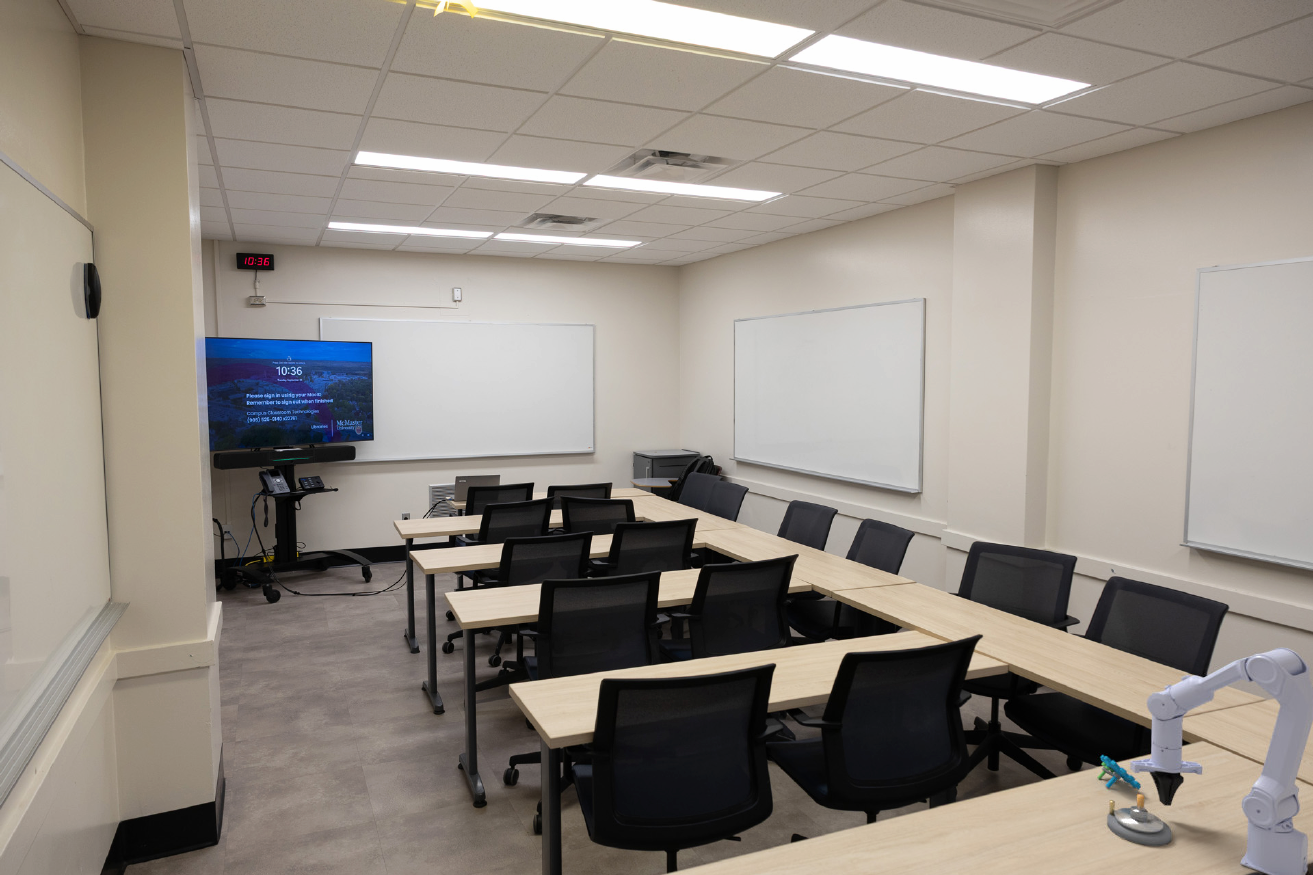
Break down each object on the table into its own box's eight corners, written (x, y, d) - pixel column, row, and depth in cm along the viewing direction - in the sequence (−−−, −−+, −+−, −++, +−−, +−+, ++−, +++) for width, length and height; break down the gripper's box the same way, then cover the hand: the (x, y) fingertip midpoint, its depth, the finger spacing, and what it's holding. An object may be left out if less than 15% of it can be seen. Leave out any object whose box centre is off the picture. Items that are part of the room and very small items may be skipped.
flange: (1162, 837, 165) (1162, 821, 165) (1113, 824, 170) (1113, 808, 170) (1164, 815, 174) (1164, 799, 174) (1117, 803, 179) (1118, 788, 179)
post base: (1178, 831, 171) (1179, 811, 170) (1160, 852, 163) (1161, 831, 163) (1118, 810, 180) (1118, 791, 180) (1098, 829, 172) (1099, 809, 172)
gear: (1151, 790, 185) (1120, 760, 186) (1135, 809, 185) (1103, 778, 186) (1123, 775, 196) (1093, 746, 197) (1107, 792, 196) (1078, 763, 197)
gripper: (1189, 737, 179) (1187, 795, 179) (1123, 735, 180) (1122, 793, 180) (1208, 750, 172) (1207, 811, 172) (1140, 749, 173) (1139, 809, 173)
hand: (1165, 803), depth 176 cm, fingers closed
